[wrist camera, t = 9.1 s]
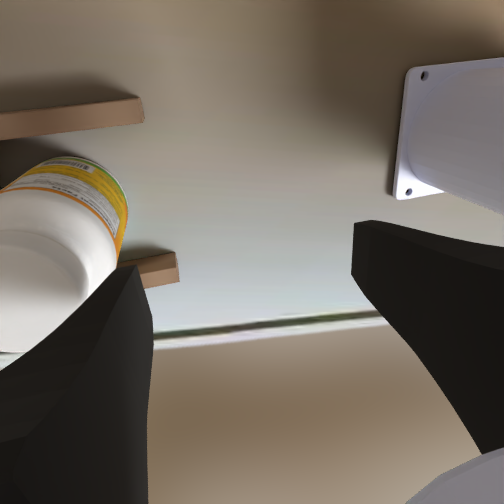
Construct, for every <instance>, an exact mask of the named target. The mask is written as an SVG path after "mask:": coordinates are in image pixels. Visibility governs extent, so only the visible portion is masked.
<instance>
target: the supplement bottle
mask: <svg viewBox="0 0 504 504" xmlns="http://www.w3.org/2000/svg"><path fill="white" fill-rule="evenodd" d="M127 218H128V202H127V198H126V195H125V193H124V190H123V189H122V187H121V185H120V184H119V182H118V181H117V180H116V178H115V177H114V176H113V175H112V174H111V173H110V172H109V171H107V170H106V169H105V168H103V167H101V166H100V165H98V164H96V163H94V162H92V161H89V160H86V159H82V158H78V157H56V158H52V159H48V160H46V161H43V162H41V163H40V164H38V165H36V166H34V167H33V168H31V169H30V170H29V171H27V172H26V173H24V174H23V175H21V176H20V177H19V178H17V179H16V180H14V181H13V182H12V183H10V184H9V185H7V186H6V187H5V188H3V189H2V190H0V351H1V352H28V351H29V350H30V349H32V348H33V347H34V346H36V345H37V344H38V343H39V342H41V341H42V340H43V339H44V338H46V337H47V336H48V335H49V334H50V333H51V332H53V331H54V330H55V329H56V328H57V327H58V326H59V325H61V324H62V323H63V322H64V321H65V320H66V319H67V318H68V317H69V316H70V315H71V314H72V313H73V312H74V311H75V310H76V309H77V308H78V307H79V306H80V305H81V304H82V303H83V302H84V301H85V300H86V299H87V298H88V297H89V296H90V295H91V294H92V293H93V292H94V291H95V290H96V289H97V288H98V287H99V285H100V284H101V283H102V282H103V281H104V280H105V279H106V278H107V277H108V276H109V275H110V274H111V273H112V272H113V271H114V270H115V269H116V266H117V261H118V257H119V253H120V249H121V245H122V240H123V236H124V232H125V228H126V224H127Z"/></svg>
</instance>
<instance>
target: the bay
mask: <svg viewBox="0 0 504 504" xmlns="http://www.w3.org/2000/svg"><path fill="white" fill-rule="evenodd" d="M144 119H145V117H144V113H143V109H142V104H141V100H140V97H139V98H130V99H121V100H112V101H103V102H94V103H85V104H76V105H67V106H58V107H49V108H40V109H31V110H22V111H13V112H4V113H0V140H6V139H14V138H22V137H31V136H39V135H47V134H55V133H63V132H71V131H79V130H87V129H95V128H104V127H112V126H120V125H128V124H136V123H143V121H144ZM135 264H137V267H138V270H139V274H140V277H141V280H142V284H143V287H144V289H146V288H151V287H156V286H161V285H166V284H171V283H175V282H180V281H179V270H178V263H177V258H176V254H175V252H173V253H168V254H163V255H157V256H152V257H147V258H141V259H136V260H131V261H125V262H120V263H117V266H116V268H120V267H125V266H130V265H135Z"/></svg>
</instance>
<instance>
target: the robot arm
mask: <svg viewBox="0 0 504 504" xmlns="http://www.w3.org/2000/svg"><path fill="white" fill-rule="evenodd" d="M422 72H424V78H423V79H422V80H421V74H422ZM407 189H409V191H408V192H407V193H406V194H405V192H406V190H407ZM443 192H447V193H449V194H452V195H454V196H457V197H459V198H462V199H464V200H467V201H469V202H472V203H474V204H477V205H479V206H482V207H484V208H487V209H489V210H492V211H494V212H497V213H499V214H502V215H504V57H500V58H491V59H482V60H473V61H464V62H455V63H446V64H437V65H428V66H419V67H413V68H411V69H410V70H409V71H408V72H407V74H406V78H405V86H404V95H403V104H402V113H401V122H400V131H399V140H398V149H397V158H396V167H395V176H394V185H393V197H394V198H396V199H397V200H404V199H410V198H415V197H421V196H426V195H432V194H437V193H443ZM351 275H352V277H353V278H354V280H355V281H356V283H357V285H358V286H359V288H360V289H361V291H362V292H363V294H364V295H365V296H366V298H367V299H368V300H369V301H370V302H371V303H372V305H373V306H374V307H375V308H376V309H377V310H378V311H379V313H380V314H381V315H382V316H383V317H384V318H385V319H386V320H387V321H388V322H389V324H390V325H391V326H392V327H393V328H394V329H395V330H396V331H397V332H398V334H399V335H400V336H401V337H402V338H403V339H404V340H405V341H406V342H407V344H408V345H409V346H410V347H411V348H412V350H413V351H414V352H415V353H416V355H417V356H418V357H419V359H420V360H421V362H422V363H423V364H424V366H425V367H426V368H427V370H428V371H429V373H430V374H431V375H432V377H433V378H434V380H435V381H436V382H437V384H438V386H439V387H440V388H441V390H442V391H443V393H444V394H445V396H446V397H447V399H448V400H449V402H450V403H451V405H452V406H453V408H454V409H455V411H456V412H457V414H458V416H459V417H460V419H461V421H462V422H463V424H464V426H465V427H466V428H467V430H468V432H469V433H470V435H471V437H472V438H473V440H474V442H475V443H476V445H477V447H478V449H479V450H480V452H481V454H482V455H480V456H478V457H476V458H474V459H472V460H470V461H468V462H466V463H464V464H462V465H459V466H457V467H455V468H453V469H451V470H449V471H447V472H445V473H443V474H441V475H439V476H438V477H437V478H435V479H434V480H433V481H432V482H431V483H429V484H428V485H427V486H426V487H424V488H423V489H422V490H421V491H419V492H418V493H417V494H416V495H415V496H413V497H412V498H411V499H410V500H408V501H407V502H406V504H504V247H499V246H493V245H486V244H480V243H474V242H469V241H464V240H459V239H454V238H450V237H445V236H441V235H437V234H432V233H428V232H424V231H420V230H416V229H412V228H408V227H404V226H400V225H396V224H392V223H387V222H382V221H376V220H368V221H363V222H357V223H354V233H353V250H352V268H351ZM153 345H154V342H153V321H152V314H151V311H150V308H149V304H148V301H147V297H146V294H145V291H144V287H143V284H142V280H141V277H140V274H139V270H138V267H137V264H135V265H130V266H125V267H120V268H116V269H115V270H114V271H113V272H112V273H111V274H110V275H109V276H108V277H107V278H106V279H105V280H104V281H103V282H102V283H101V284H100V285H99V287H98V288H97V289H96V290H95V291H94V292H93V293H92V294H91V295H90V296H89V297H88V298H87V299H86V300H85V301H84V302H83V303H82V304H81V305H80V306H79V307H78V308H77V309H76V310H75V311H74V312H73V313H72V314H71V315H70V316H69V317H68V318H67V319H66V320H65V321H64V322H63V323H62V324H61V325H59V326H58V327H57V328H56V329H55V330H54V331H53V332H51V333H50V334H49V335H48V336H47V337H46V338H44V339H43V340H42V341H41V342H39V343H38V344H37V345H36V346H34V347H33V348H32V349H30V350H29V351H28V352H27V353H25V354H24V355H23V356H21V357H20V358H18V359H17V360H15V361H14V362H13V363H11V364H10V365H8V366H7V367H5V368H4V369H2V370H1V371H0V504H148V476H147V475H148V473H147V410H148V399H149V389H150V379H151V368H152V357H153Z"/></svg>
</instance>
